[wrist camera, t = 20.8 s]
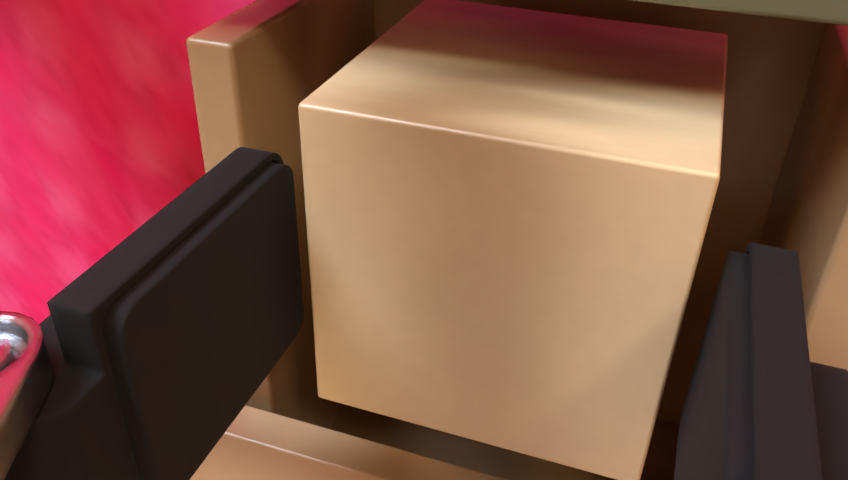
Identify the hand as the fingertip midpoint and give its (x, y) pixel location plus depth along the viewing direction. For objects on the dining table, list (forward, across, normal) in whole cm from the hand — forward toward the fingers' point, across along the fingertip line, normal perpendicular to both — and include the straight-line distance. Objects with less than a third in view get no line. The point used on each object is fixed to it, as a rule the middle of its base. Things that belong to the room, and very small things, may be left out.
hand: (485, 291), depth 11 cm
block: (+5, 0, 0) cm, 5 cm away
